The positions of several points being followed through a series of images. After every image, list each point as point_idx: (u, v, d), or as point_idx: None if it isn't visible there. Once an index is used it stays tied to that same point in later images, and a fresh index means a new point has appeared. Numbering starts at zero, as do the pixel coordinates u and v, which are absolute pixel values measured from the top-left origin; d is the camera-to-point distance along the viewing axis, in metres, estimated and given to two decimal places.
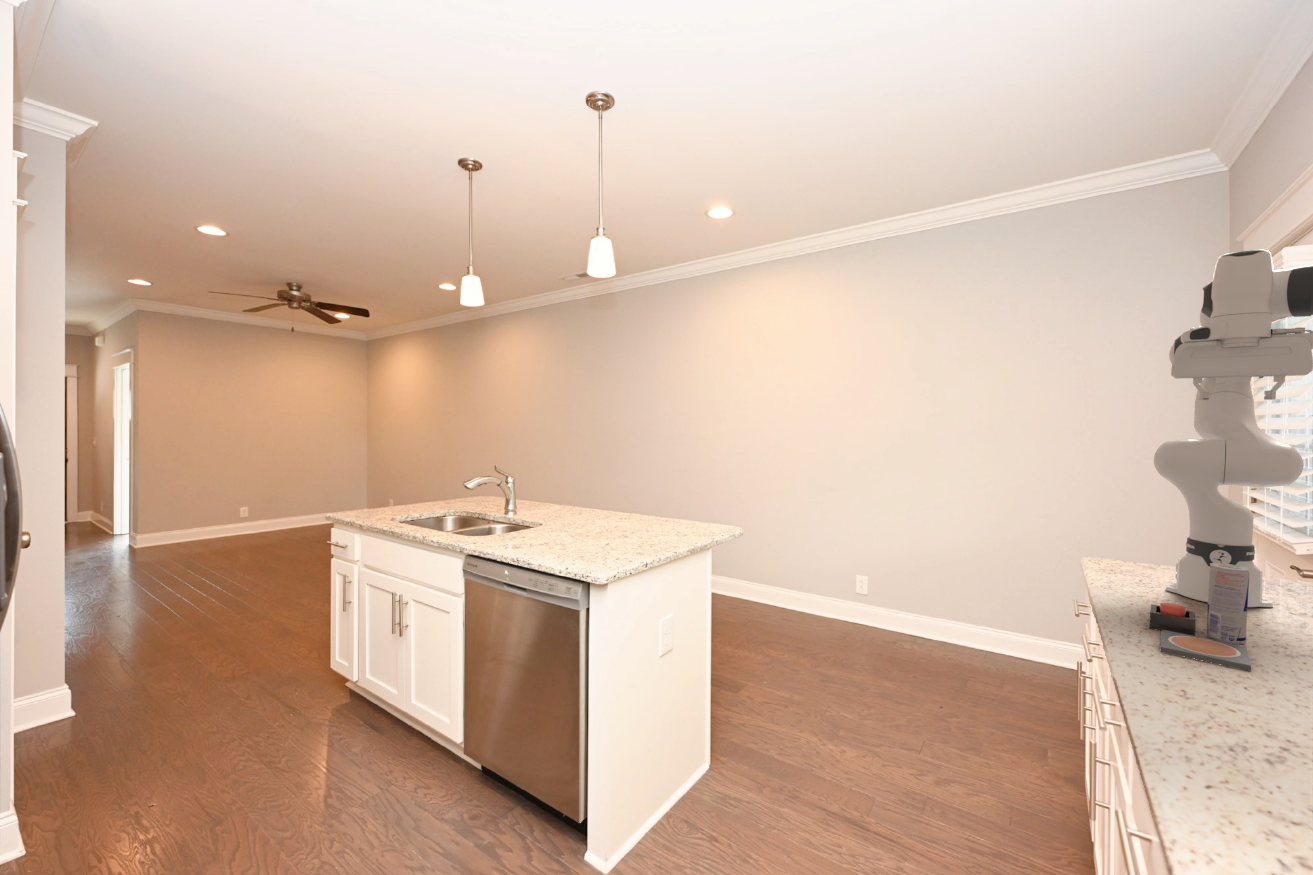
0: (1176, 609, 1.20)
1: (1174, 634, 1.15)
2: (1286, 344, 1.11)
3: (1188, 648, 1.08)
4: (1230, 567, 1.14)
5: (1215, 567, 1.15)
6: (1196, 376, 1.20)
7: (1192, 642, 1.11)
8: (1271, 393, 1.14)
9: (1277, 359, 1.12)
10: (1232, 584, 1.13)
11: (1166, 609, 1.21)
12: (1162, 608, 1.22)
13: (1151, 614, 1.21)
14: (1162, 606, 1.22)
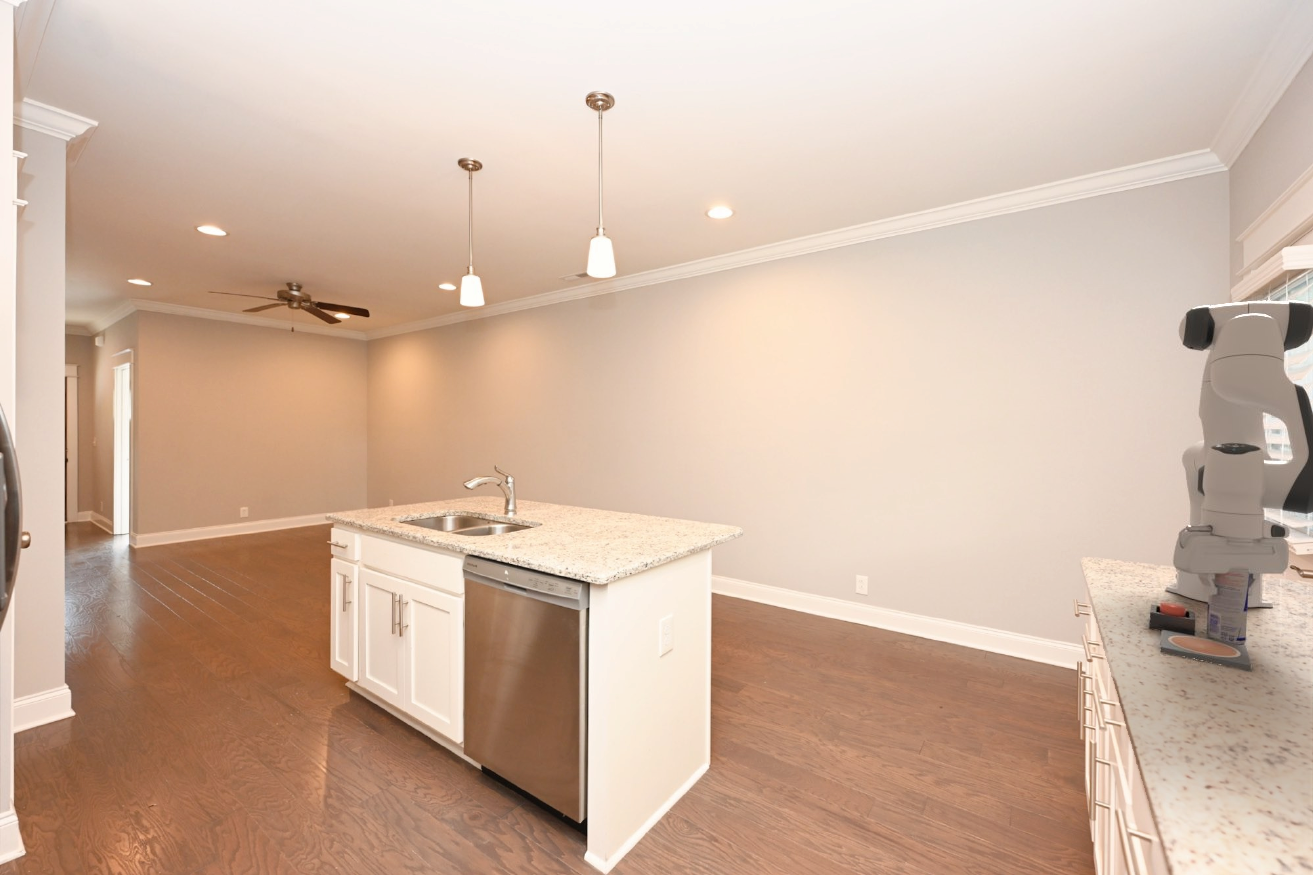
0: (1176, 609, 1.20)
1: (1174, 634, 1.15)
2: None
3: (1188, 648, 1.08)
4: None
5: None
6: None
7: (1192, 642, 1.11)
8: None
9: None
10: (1232, 584, 1.13)
11: (1166, 609, 1.21)
12: (1162, 608, 1.22)
13: (1151, 614, 1.21)
14: (1162, 606, 1.22)
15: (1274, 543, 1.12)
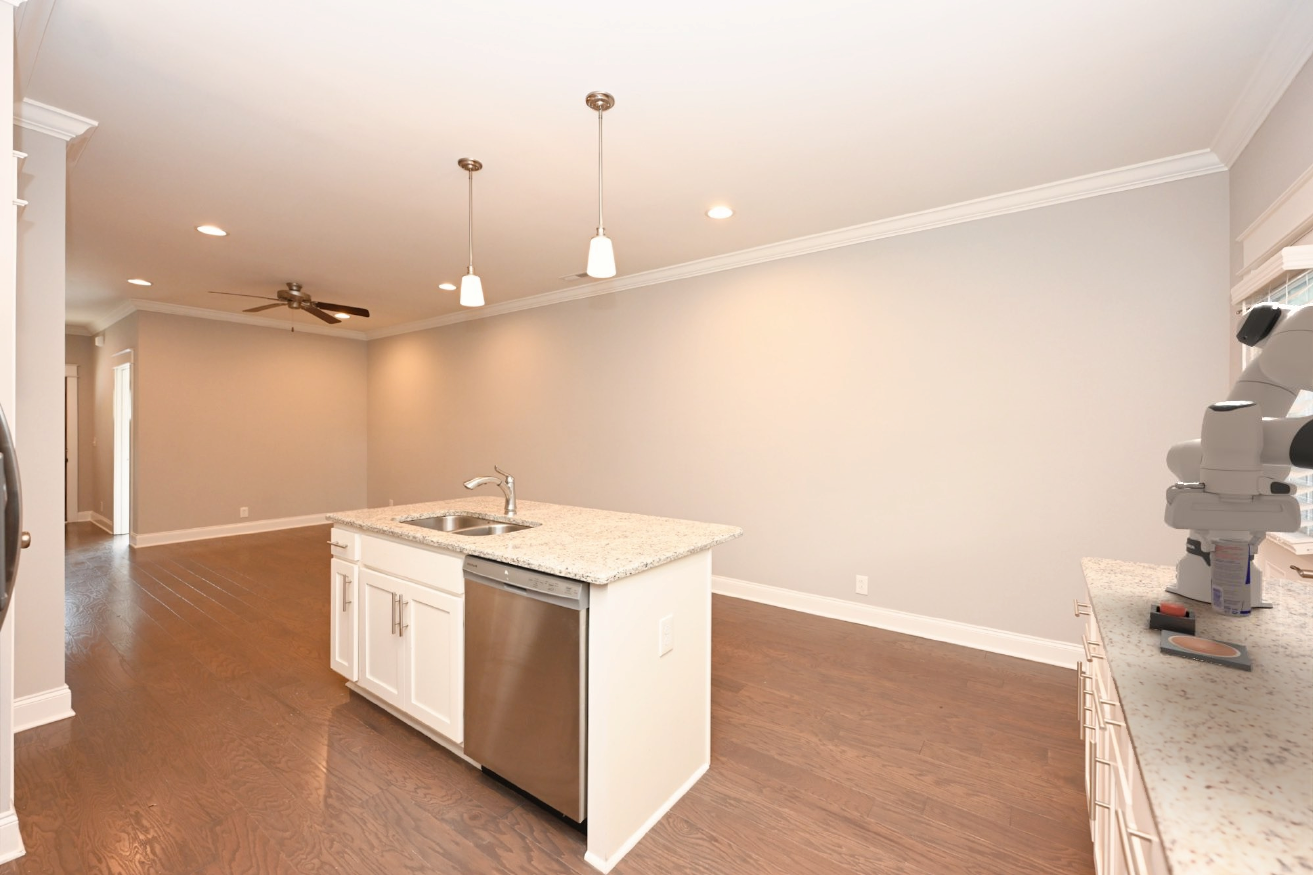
0: (1176, 609, 1.20)
1: (1174, 634, 1.15)
2: None
3: (1188, 648, 1.08)
4: (1229, 541, 1.14)
5: (1214, 541, 1.15)
6: None
7: (1192, 642, 1.11)
8: None
9: None
10: (1231, 557, 1.13)
11: (1166, 609, 1.21)
12: (1162, 608, 1.22)
13: (1151, 614, 1.21)
14: (1162, 606, 1.22)
15: (1279, 500, 1.10)
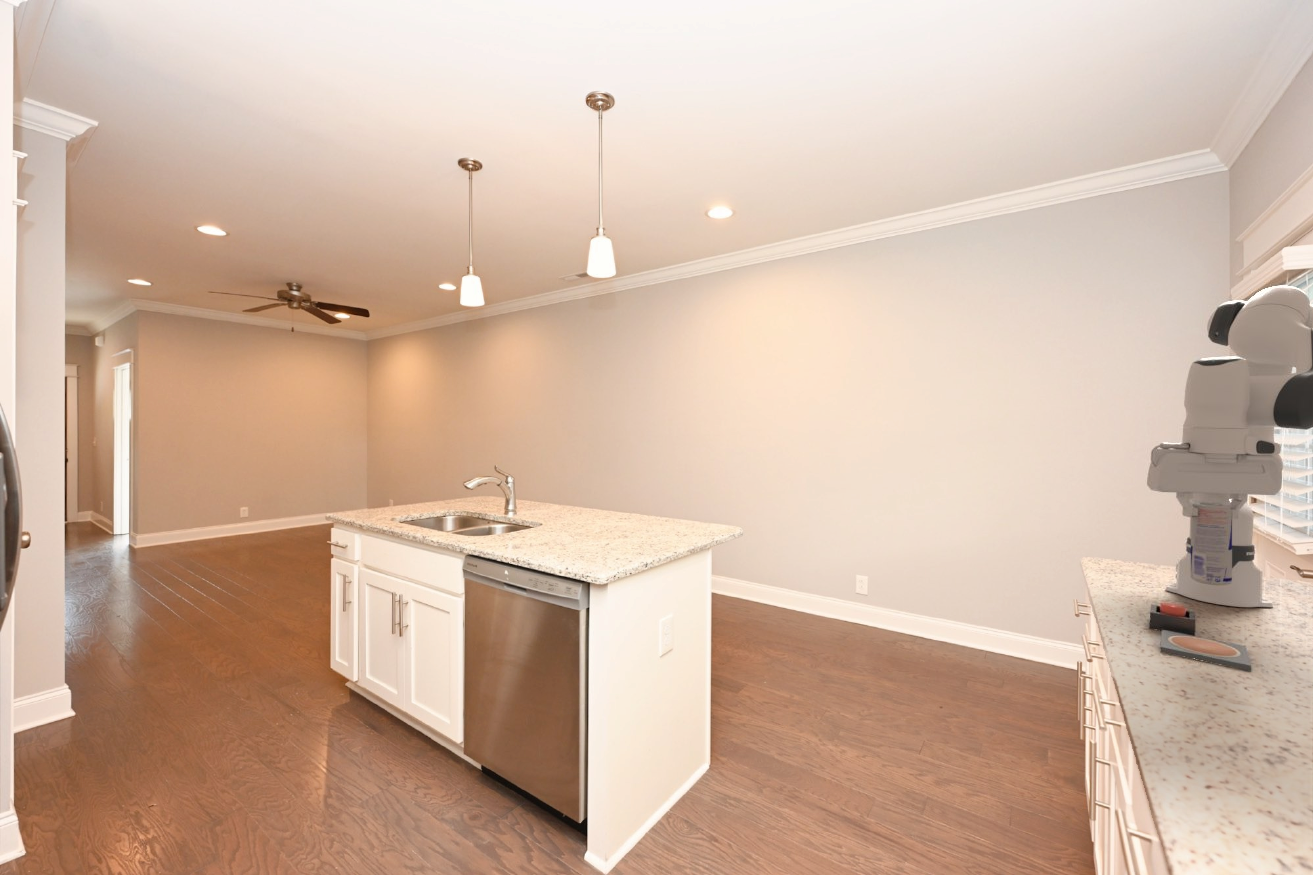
0: (1176, 609, 1.20)
1: (1174, 634, 1.15)
2: None
3: (1188, 648, 1.08)
4: (1212, 504, 1.08)
5: (1197, 505, 1.08)
6: None
7: (1192, 642, 1.11)
8: None
9: None
10: (1216, 521, 1.06)
11: (1166, 609, 1.21)
12: (1162, 608, 1.22)
13: (1151, 614, 1.21)
14: (1162, 606, 1.22)
15: (1262, 461, 1.05)
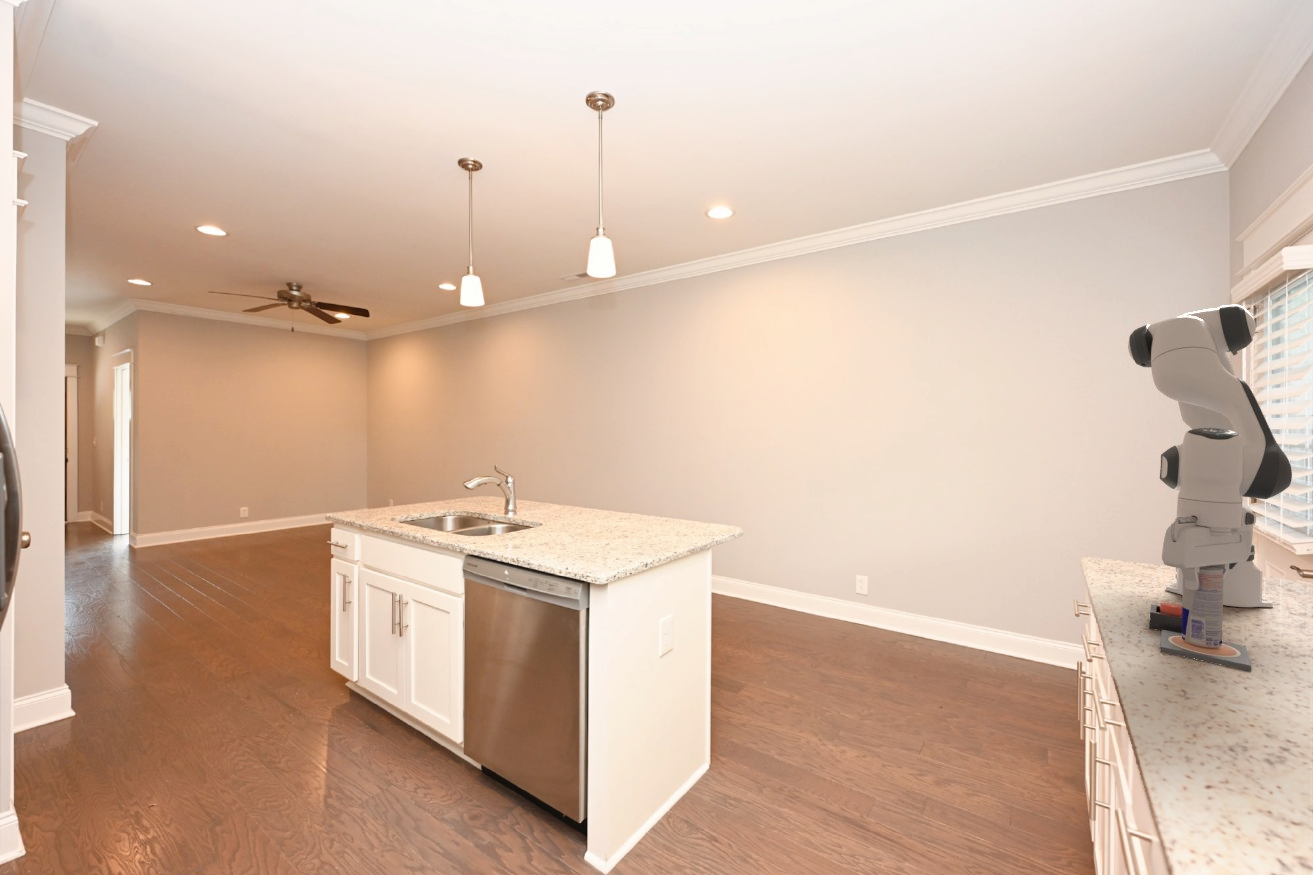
0: (1176, 609, 1.20)
1: (1174, 634, 1.15)
2: None
3: (1188, 648, 1.08)
4: (1207, 568, 1.09)
5: None
6: None
7: None
8: None
9: None
10: (1215, 586, 1.07)
11: (1166, 609, 1.21)
12: (1162, 608, 1.22)
13: (1151, 614, 1.21)
14: (1162, 606, 1.22)
15: (1244, 531, 1.09)
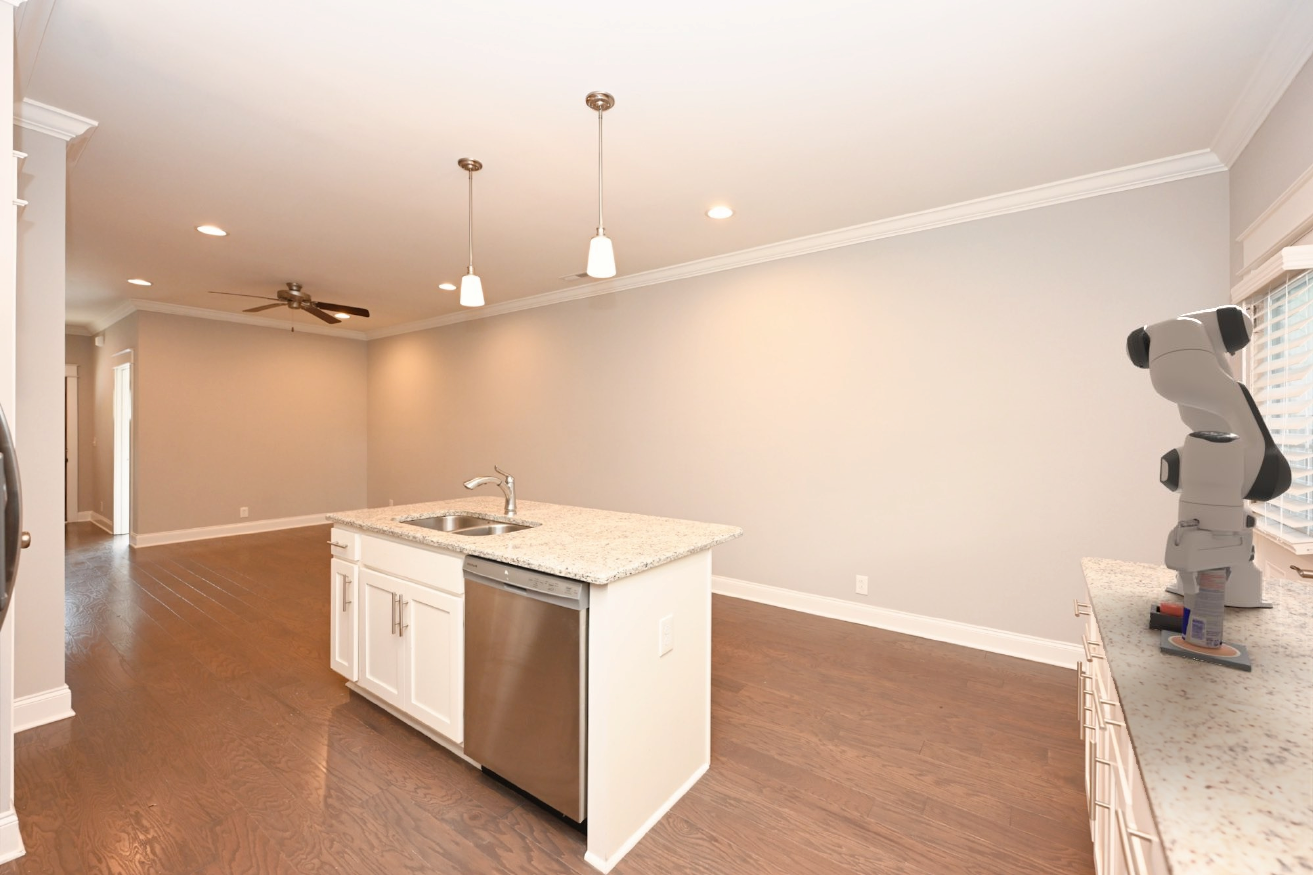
0: (1176, 609, 1.20)
1: (1174, 634, 1.15)
2: None
3: (1188, 648, 1.08)
4: None
5: None
6: None
7: None
8: None
9: None
10: (1217, 586, 1.07)
11: (1166, 609, 1.21)
12: (1162, 608, 1.22)
13: (1151, 614, 1.21)
14: (1162, 606, 1.22)
15: (1245, 533, 1.09)
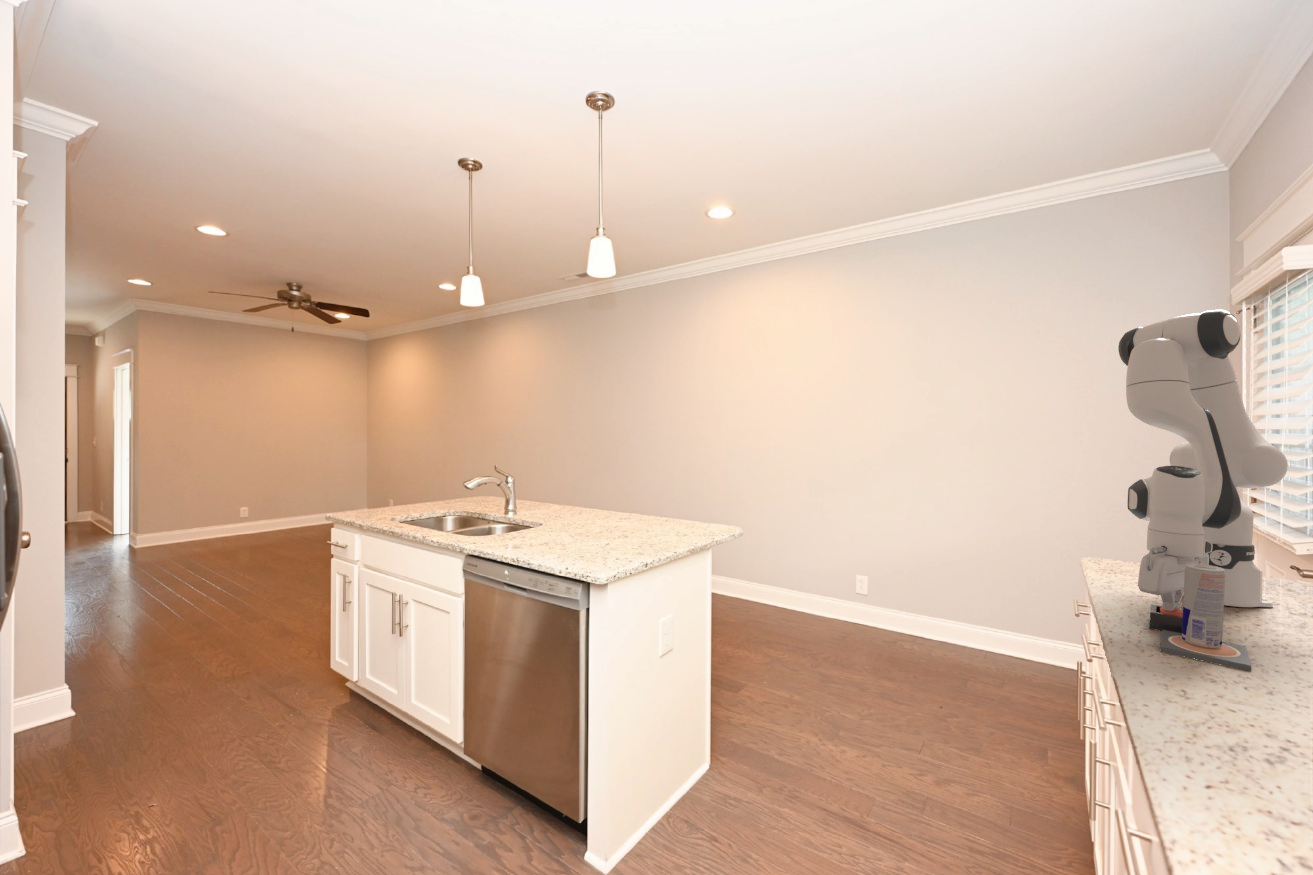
0: (1176, 614, 1.20)
1: (1174, 634, 1.15)
2: None
3: (1188, 648, 1.08)
4: (1209, 568, 1.09)
5: (1199, 569, 1.08)
6: None
7: None
8: None
9: None
10: (1217, 586, 1.07)
11: (1166, 613, 1.21)
12: (1162, 612, 1.22)
13: (1151, 614, 1.21)
14: (1162, 610, 1.22)
15: (1203, 557, 1.22)
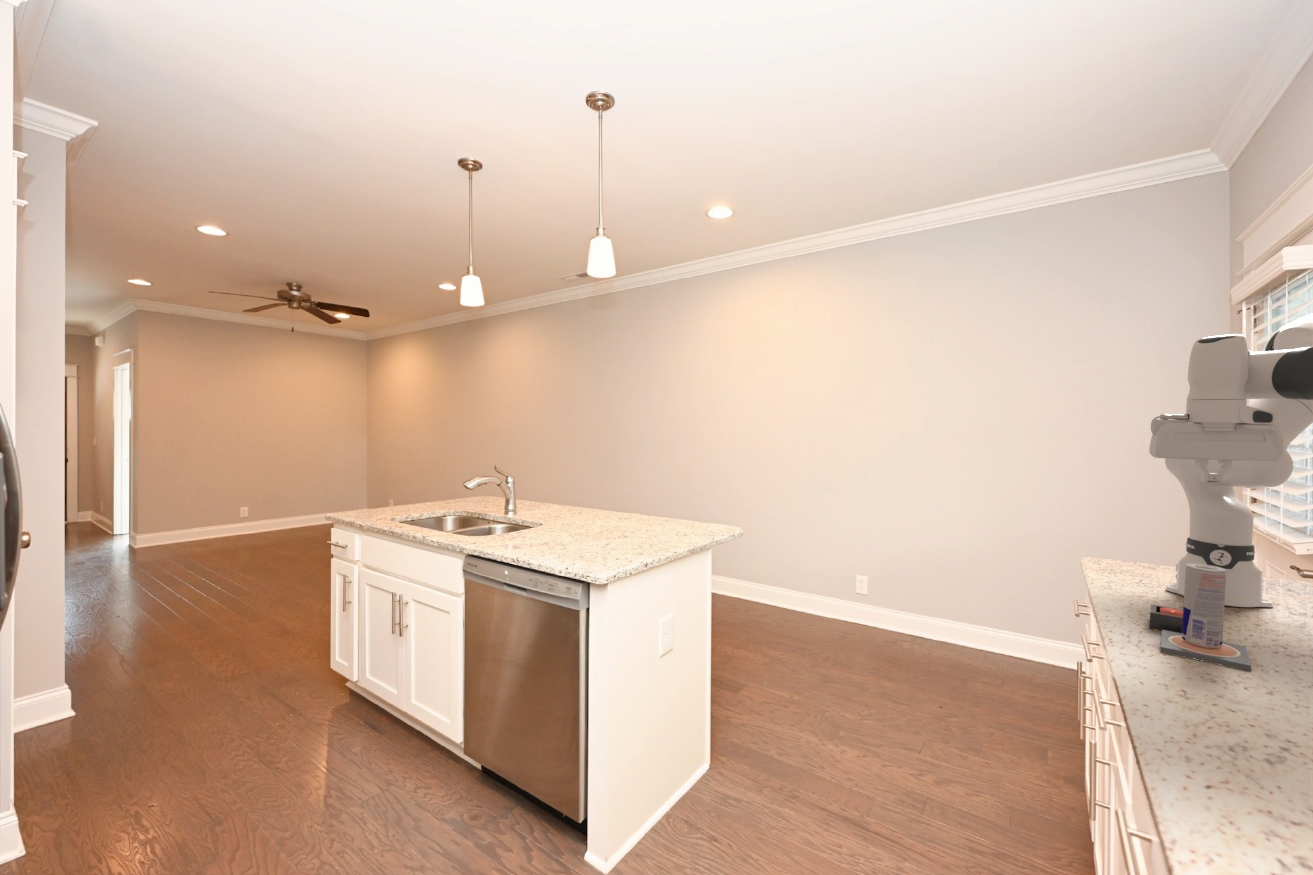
0: (1176, 614, 1.20)
1: (1174, 634, 1.15)
2: None
3: (1188, 648, 1.08)
4: (1210, 568, 1.09)
5: (1200, 569, 1.08)
6: None
7: None
8: None
9: None
10: (1218, 586, 1.07)
11: None
12: None
13: (1151, 614, 1.21)
14: (1162, 611, 1.22)
15: (1261, 429, 1.13)
